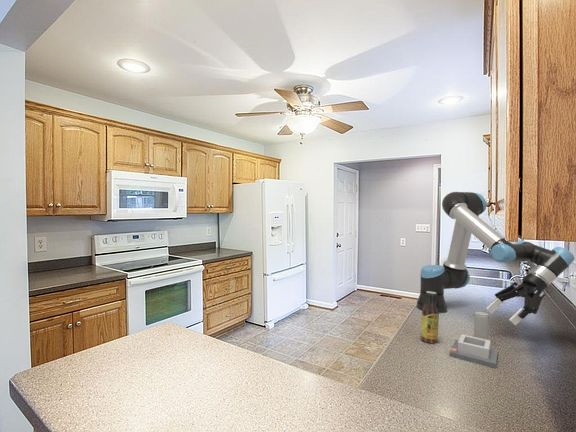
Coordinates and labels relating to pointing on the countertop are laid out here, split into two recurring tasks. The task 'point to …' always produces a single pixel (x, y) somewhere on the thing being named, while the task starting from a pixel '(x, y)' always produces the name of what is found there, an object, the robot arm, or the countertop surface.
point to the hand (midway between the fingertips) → (499, 316)
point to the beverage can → (481, 325)
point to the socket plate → (474, 350)
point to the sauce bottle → (430, 319)
